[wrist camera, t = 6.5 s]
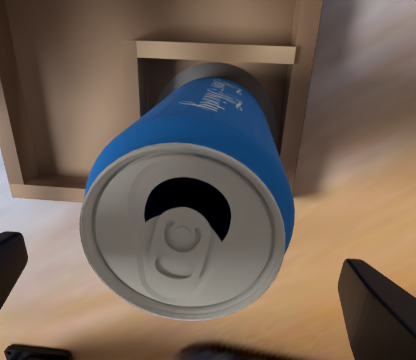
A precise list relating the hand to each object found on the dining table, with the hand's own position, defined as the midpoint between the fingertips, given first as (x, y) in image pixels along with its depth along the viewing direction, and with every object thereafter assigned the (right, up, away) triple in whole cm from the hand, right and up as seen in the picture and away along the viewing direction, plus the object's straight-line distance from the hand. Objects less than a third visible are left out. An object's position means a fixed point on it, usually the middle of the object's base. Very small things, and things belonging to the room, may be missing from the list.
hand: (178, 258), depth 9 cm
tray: (-3, +8, +11) cm, 14 cm away
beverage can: (+1, +5, +11) cm, 12 cm away
